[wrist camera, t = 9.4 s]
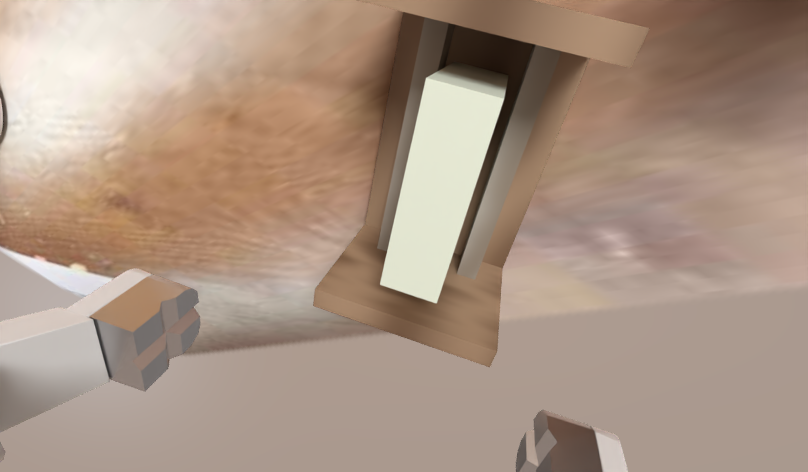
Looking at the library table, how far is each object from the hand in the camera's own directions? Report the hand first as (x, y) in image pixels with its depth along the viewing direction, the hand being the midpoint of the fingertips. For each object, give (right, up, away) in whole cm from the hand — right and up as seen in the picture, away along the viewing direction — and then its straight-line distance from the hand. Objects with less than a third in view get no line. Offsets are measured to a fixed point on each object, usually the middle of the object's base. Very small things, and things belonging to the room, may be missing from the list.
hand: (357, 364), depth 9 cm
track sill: (+5, +8, +16) cm, 18 cm away
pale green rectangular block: (+4, +8, +15) cm, 17 cm away
